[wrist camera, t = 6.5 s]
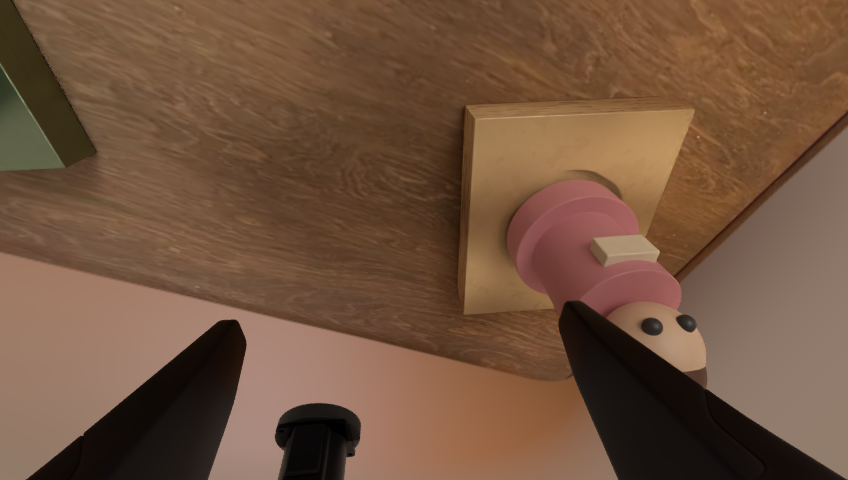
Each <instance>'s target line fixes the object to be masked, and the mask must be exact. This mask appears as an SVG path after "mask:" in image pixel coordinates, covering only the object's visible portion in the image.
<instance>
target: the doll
mask: <svg viewBox="0 0 848 480" xmlns="http://www.w3.org/2000/svg"><path fill="white" fill-rule="evenodd" d="M507 248H508V252H509V255H510V257H511V259H512V261H513V263H514V265H515V267H516V270H517V272H518V274H519V276H520V278H521V279H522V280H523V282H524V283H525V284H526V285H527V286H529V287H530V288H532V289H533V290H535V291H537V292H539V293H543V294H546V295H548V296H549V298H550V300H551V302H552V303H553V305H554V307H555V309H556V311H557V313H558V315H559V317H560V315H561V311H562V308H563V305H564V303H565V302H566V301H573V300H580V301H582V302H584V303H585V304H587V305H588V306H589V307H591V308H592V309H594V310H595V311H596V312H598V313H599V314H601V315H602V316H604V317H605V318H606V319H608V320H609V321H611V322H612V323H613V324H615V325H616V326H618V327H619V328H621V329H622V330H623V331H625V332H626V333H628V334H629V335H631V336H632V337H633V338H635V339H636V340H638V341H639V342H640V343H642V344H643V345H645V346H646V347H648V348H649V349H650V350H652V351H653V352H655V353H656V354H657V355H659V356H660V357H662V358H663V359H665V360H666V361H667V362H669V363H670V364H672V365H673V366H674V367H676V368H677V369H679V370H680V371H682V372H683V373H684V374H686V375H687V376H689V377H690V378H692V379H693V380H694V381H696V382H697V383H699V384H700V385H701V386H703V387H704V389H706V385H707V371H706V367H705V364H706V349H705V345H704V342H703V339H702V337H701V335H700V333H699V331H698V330H697V328H696V326H697V324H696V321H695V320H694V319H693V318H692V317H690V316H688V315H683V314H681V313H680V312H678V311H677V309H678V307H679V305H680V301H681V288H680V286H679V283H678V282H677V281H676V279H675V278H674V277H673V276H672V275H671V274H670V273H669V272H668V271H666V270H665V269H664V268H663V267H662V266H661V265H660V264H659V263H658V262H657V261H656V260H657V257H658V255H659V250H658V249H656V248H655V247H654V246H653V245H652V244H651V243H650V242H649V241H648V240H647V239H646V238H645V237H644V236H643V235H640V234H639V227H638V222H637V219H636V216H635V214H634V213H633V211H632V210H631V209H630V208H629V207H628V206H627V205H626V204H625V203H624V202H623V201H622V200H621V199H619V198H618V197H617V196H616V195H615V194H614V193H612V192H611V191H610V190H609V189H608V188H606V187H605V186H603V185H601V184H599V183H597V182H593V181H589V180H567V181H562V182H558V183H555V184H553V185H550V186H548V187H546V188H544V189H542V190H540V191H539V192H537V193H535V194H534V195H533V196H531V197H530V198H529V199H528V200H527V201H526V202H525V203H524V204H523V205H522V206H521V207H520V208H519V209H518V211H517V212H516V214H515V215H514V217H513V219H512V221H511V223H510V226H509V229H508V233H507Z"/></svg>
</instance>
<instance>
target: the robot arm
mask: <svg viewBox="0 0 848 480" xmlns="http://www.w3.org/2000/svg"><path fill="white" fill-rule="evenodd" d="M558 325H559V330H560V334H561V337H562V340H563V343H564V347H565V350H566V353H567V356H568V359H569V363H570V366H571V369H572V372H573V375H574V378H575V381H576V383H577V386H578V388H579V390H580V393H581V395H582V397H583V399H584V402H585V404H586V406H587V409H588V411H589V413H590V415H591V418H592V420H593V422H594V425H595V427H596V429H597V432H598V434H599V436H600V438H601V441H602V443H603V445H604V448H605V450H606V452H607V455H608V457H609V459H610V462H611V464H612V466H613V468H614V471H615V473H616V475H617V477H618V480H847V479H845V478H843V477H842V476H840V475H839V474H837V473H835V472H834V471H832V470H831V469H829V468H827V467H826V466H824V465H823V464H821V463H819V462H818V461H816V460H815V459H813V458H811V457H810V456H808V455H807V454H805V453H803V452H802V451H800V450H798V449H797V448H795V447H794V446H792V445H790V444H789V443H787V442H786V441H784V440H782V439H781V438H779V437H777V436H776V435H774V434H773V433H771V432H770V431H768V430H767V429H765V428H763V427H762V426H760V425H759V424H757V423H756V422H754V421H752V420H751V419H749V418H748V417H746V416H745V415H743V414H742V413H740V412H739V411H738V410H736V409H735V408H733V407H732V406H730V405H729V404H727V403H726V402H724V401H723V400H721V399H720V398H719V397H717V396H716V395H714V394H713V393H712V392H710V391H709V390H707V389H704V387H703V386H701V385H700V384H699V383H697V382H696V381H694V380H693V379H692V378H690V377H689V376H687V375H686V374H684V373H683V372H682V371H680V370H679V369H677V368H676V367H674V366H673V365H672V364H670V363H669V362H667V361H666V360H665V359H663V358H662V357H660V356H659V355H657V354H656V353H655V352H653V351H652V350H650V349H649V348H648V347H646V346H645V345H643V344H642V343H640V342H639V341H638V340H636V339H635V338H633V337H632V336H631V335H629V334H628V333H626V332H625V331H623V330H622V329H621V328H619V327H618V326H616V325H615V324H613V323H612V322H611V321H609V320H608V319H606V318H605V317H604V316H602V315H601V314H599V313H598V312H596V311H595V310H594V309H592V308H591V307H589V306H588V305H587V304H585V303H584V302H582V301H580V300H573V301H566V302H565V303H564V305H563V308H562V311H561V315H560V318H559V323H558ZM245 351H246V339H245V336H244V334H243V331H242V329H241V327H240V324H239V323H238V321H237V320H221V321H219V322H217V323H216V324H215V325H214V326H212V327H211V328H210V329H209V330H208V331H206V332H205V333H204V334H203V335H202V336H200V337H199V338H198V339H197V340H195V341H194V342H193V343H192V344H191V345H189V346H188V347H187V348H186V349H185V350H183V351H182V352H181V353H180V354H179V355H177V356H176V357H175V358H174V359H173V360H171V362H169V363H168V364H167V365H165V366H164V367H163V368H162V369H160V370H159V371H158V372H157V373H156V374H155V375H153V376H152V377H151V378H150V379H148V380H147V381H146V382H145V383H144V384H143V385H141V386H140V387H139V388H138V389H136V390H135V391H134V392H133V393H132V394H130V395H129V396H128V397H127V398H126V399H124V400H123V401H122V402H121V403H119V404H118V405H117V406H116V407H115V408H113V409H112V410H111V411H110V412H109V413H108V414H106V415H105V416H104V417H103V418H101V419H100V420H99V421H98V422H97V423H95V424H94V425H93V426H92V427H91V428H89V429H88V430H87V431H86V432H85V433H84V435H83V436H80V437H78V438H77V439H76V440H75V441H73V442H72V443H71V444H70V445H69V446H67V447H66V448H65V449H64V450H63V451H61V452H60V453H59V454H58V455H56V456H55V457H54V458H53V459H52V460H50V461H49V462H48V463H47V464H45V465H44V466H43V467H41V468H40V469H39V470H38V471H37V472H35V473H34V474H33V475H31V476H30V477H29V478H28V479H26V480H208V477H209V474H210V471H211V468H212V466H213V463H214V459H215V457H216V454H217V451H218V448H219V445H220V442H221V439H222V436H223V433H224V431H225V428H226V425H227V422H228V419H229V416H230V413H231V410H232V406H233V404H234V400H235V396H236V392H237V387H238V383H239V378H240V374H241V369H242V365H243V360H244V356H245ZM276 433H277V435H278V437H279V439H280V441H281V443H282V445H283V447H284V449H285V451H284V455H283V460H282V464H281V468H280V473H279V477H278V480H344V474H345V463H346V457H352V456H354V455H355V447H354V443H353V439H352V435H351V432H350V428H349V424H348V421H347V420H346V419H331V420H319V421H308V422H297V423H285V424H279V425H277V428H276Z"/></svg>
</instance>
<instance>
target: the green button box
mask: <svg viewBox="0 0 848 480" xmlns="http://www.w3.org/2000/svg"><path fill="white" fill-rule="evenodd" d="M95 152H96V151H95V149H94V147H93V146H92V144H91V142H90V140H89V138H88V137H87V135H86V133H85V131H84V129H83V128H82V126H81V124H80V122H79V121H78V119H77V117H76V115H75V113H74V112H73V110H72V108H71V106H70V105H69V103H68V101H67V99H66V97H65V96H64V94H63V92H62V90H61V88H60V87H59V85H58V83H57V81H56V80H55V78H54V76H53V74H52V72H51V71H50V69H49V67H48V65H47V63H46V62H45V60H44V58H43V56H42V55H41V53H40V51H39V49H38V47H37V46H36V44H35V42H34V40H33V39H32V37H31V35H30V33H29V31H28V30H27V28H26V26H25V24H24V22H23V21H22V19H21V17H20V15H19V14H18V12H17V10H16V8H15V6H14V5H13V3H12V1H11V0H0V171H16V170H36V169H56V168H67V167H69V166H71V165H72V164H74V163H76V162H78V161H80V160H82V159H84V158H86V157H88V156H90V155H92V154H94V153H95Z"/></svg>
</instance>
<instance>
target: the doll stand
mask: <svg viewBox="0 0 848 480" xmlns="http://www.w3.org/2000/svg"><path fill="white" fill-rule="evenodd" d="M694 112H695V109H694V108H691V107H688V106H685V105H683V104H680V103H677V102H674V101H672V100H669V99H666V98H663V97H640V98H617V99H593V100H570V101H546V102H523V103H499V104H476V105H465V116H464V140H463V165H462V189H461V213H460V237H459V261H458V285H457V289H458V293H459V298H460V302H461V306H462V310H463V314H464V315H471V314H485V313H498V312H512V311H526V310H539V309H553V308H555V307H554V305H553V303H552V302H551V300H550V298H549V296H548V295H546V294H543V293H539V292H537V291H535V290H533V289H532V288H530V287H529V286H527V285H526V284H525V283H524V282H523V280H522V279H521V278H520V276H519V274H518V272H517V270H516V267H515V265H514V263H513V261H512V259H511V257H510V255H509V252H508V248H507V233H508V229H509V226H510V223H511V221H512V219H513V217H514V215H515V214H516V212H517V211H518V209H519V208H520V207H521V206H522V205H523V204H524V203H525V202H526V201H527V200H528V199H529V198H530V197H531V196H533V195H534V194H535V193H537V192H539V191H540V190H542V189H544V188H546V187H548V186H550V185H553V184H555V183H558V182H562V181H567V180H589V181H593V182H597V183H599V184H601V185H603V186H605V187H606V188H608V189H609V190H610V191H611V192H612V193H614V194H615V195H616V196H617V197H618V198H619V199H621V200H622V201H623V202H624V203H625V204H626V205H627V206H628V207H629V208H630V209H631V210H632V211H633V213H634V214H635V216H636V219H637V222H638V227H639V234H640V235H643V236H644V237H645V236H646V234H647V231H648V229H649V226H650V224H651V221H652V219H653V216H654V213H655V211H656V208H657V206H658V203H659V201H660V198H661V196H662V193H663V191H664V188H665V186H666V183H667V181H668V178H669V176H670V173H671V171H672V168H673V165H674V163H675V160H676V158H677V155H678V153H679V150H680V148H681V145H682V143H683V140H684V138H685V135H686V133H687V130H688V128H689V125H690V122H691V120H692V117H693V115H694Z"/></svg>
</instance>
